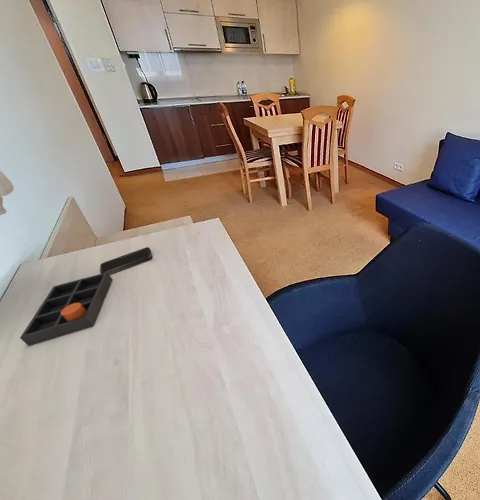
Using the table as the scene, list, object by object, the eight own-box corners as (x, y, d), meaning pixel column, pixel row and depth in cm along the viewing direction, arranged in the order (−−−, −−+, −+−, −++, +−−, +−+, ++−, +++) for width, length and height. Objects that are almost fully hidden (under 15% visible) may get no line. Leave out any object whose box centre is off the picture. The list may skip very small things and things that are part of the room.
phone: (151, 256, 103) (100, 274, 97) (152, 258, 104) (102, 277, 98) (148, 246, 109) (100, 263, 102) (150, 248, 110) (102, 265, 103)
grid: (28, 345, 76) (19, 338, 74) (60, 293, 93) (53, 286, 91) (93, 326, 80) (86, 318, 78) (112, 279, 96) (107, 271, 95)
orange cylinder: (67, 327, 79) (57, 317, 77) (73, 316, 83) (64, 305, 80) (86, 321, 80) (77, 311, 78) (91, 310, 84) (83, 300, 81)
